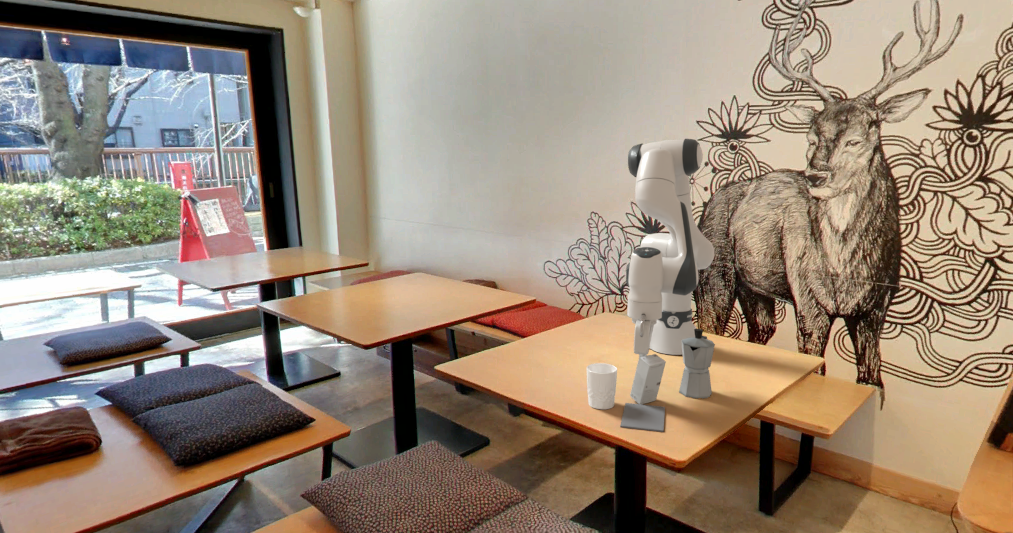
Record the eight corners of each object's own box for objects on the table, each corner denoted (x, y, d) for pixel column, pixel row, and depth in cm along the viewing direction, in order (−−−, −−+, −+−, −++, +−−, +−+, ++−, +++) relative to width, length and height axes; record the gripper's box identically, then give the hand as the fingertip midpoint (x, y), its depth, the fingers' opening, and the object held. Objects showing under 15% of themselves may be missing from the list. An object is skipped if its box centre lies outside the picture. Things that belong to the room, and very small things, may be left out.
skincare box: (640, 405, 153) (650, 366, 148) (628, 395, 156) (638, 357, 151) (657, 400, 156) (667, 361, 151) (645, 390, 159) (655, 352, 155)
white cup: (622, 403, 154) (623, 367, 152) (605, 413, 148) (606, 375, 147) (596, 396, 159) (597, 361, 158) (580, 405, 154) (580, 368, 152)
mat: (625, 404, 154) (625, 402, 154) (664, 408, 151) (665, 406, 151) (620, 427, 141) (620, 425, 140) (663, 431, 138) (663, 430, 138)
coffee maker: (707, 404, 153) (711, 337, 150) (673, 397, 158) (676, 333, 155) (717, 385, 166) (721, 323, 163) (686, 379, 171) (688, 319, 167)
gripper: (655, 320, 143) (653, 375, 145) (658, 302, 162) (656, 350, 164) (628, 319, 145) (627, 372, 147) (635, 301, 164) (633, 348, 166)
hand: (642, 360), depth 156 cm, fingers closed
